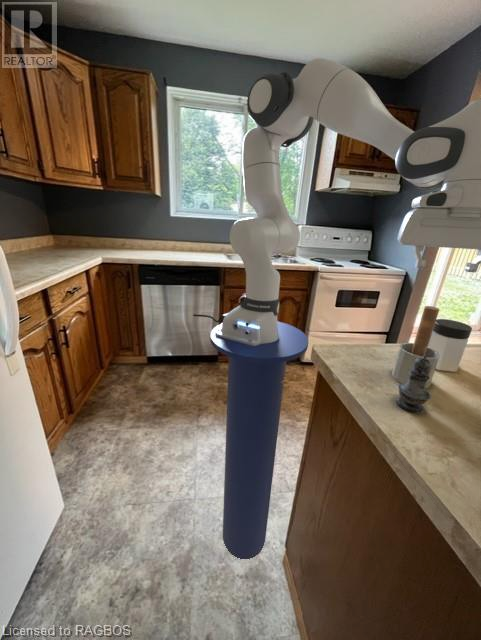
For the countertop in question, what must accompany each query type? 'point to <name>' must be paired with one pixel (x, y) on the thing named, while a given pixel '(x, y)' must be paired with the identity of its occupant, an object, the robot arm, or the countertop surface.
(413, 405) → the grey stone figurine
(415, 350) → the stick
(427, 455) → the countertop surface
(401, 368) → the tin
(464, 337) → the jar
